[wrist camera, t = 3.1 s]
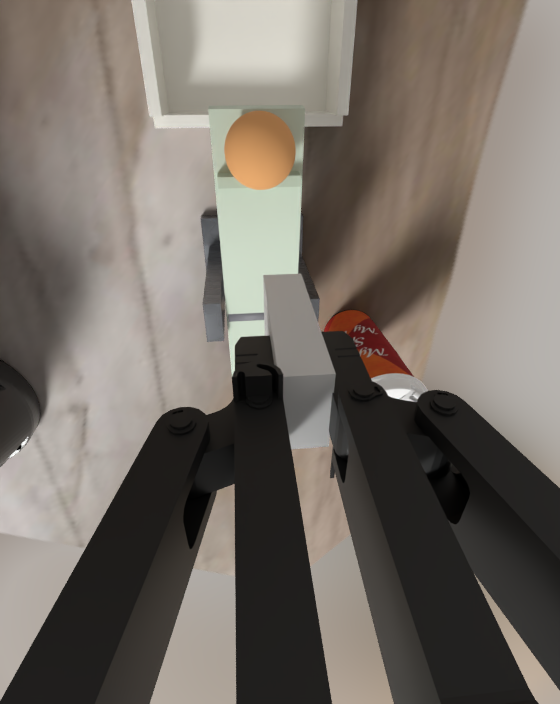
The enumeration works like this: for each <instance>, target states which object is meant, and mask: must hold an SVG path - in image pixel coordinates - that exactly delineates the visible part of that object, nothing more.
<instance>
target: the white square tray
mask: <svg viewBox="0 0 560 704" xmlns="http://www.w3.org/2000/svg"><path fill="white" fill-rule="evenodd" d="M131 1H132V7H133V14H134V20H135V27H136V33H137V39H138V46H139V52H140V59H141V65H142V71H143V78H144V84H145V91H146V97H147V104H148V110H149V116H150V117H153V119H154V125H155V128H210V124H209V113H208V107H209V106H228V105H303V106H304V108H305V125H304V127H315V126H342V124H343V115H348V112H349V99H350V87H351V75H352V62H353V50H354V37H355V25H356V13H357V0H131Z"/></svg>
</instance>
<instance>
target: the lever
mask: <svg viewBox="0 0 560 704" xmlns="http://www.w3.org/2000/svg"><path fill="white" fill-rule="evenodd" d="M252 111H266V112H270V113H273V114H275V115H277V116H278V117H279V118H281V119H282V120H283V121H284V122H285V123H286V124H287V126H288V127H289V129H290V130H291V133H292V135H293V137H294V141H295V148H296V155H295V161H294V165H293V167H292V170H291V171H290V173H289V175H288V176H287V178H286V179H285V180H284V181H283V182H281V183H280V184H279V185H277V186H275V187H273V188H270V189H266V190H255V189H251V188H248V187H246V186H244V185H243V184H241V183H240V182H239V181H238V180H237V179H236V178H235V177H234V176H233V175H232V174H231V172H230V170H229V168H228V166H227V163H226V160H225V153H224V146H225V139H226V136H227V133H228V131H229V129H230V127H231V126H232V124H233V123H234V122H235V121H236V120H237V119H238V118H239V117H241V116H242V115H244V114H246V113H248V112H252ZM208 113H209V124H210V135H211V147H212V158H213V169H214V180H215V191H216V203H217V214H218V225H219V236H220V247H221V258H222V270H223V281H224V292H225V303H226V314H227V326H228V337H229V348H230V359H231V370H232V376H233V373H234V371H235V344H236V343H237V342H238V340H239V339H240V337H248V336H265V329H264V287H263V275H276V274H298V262H299V239H300V217H301V194H302V171H303V148H304V125H305V108H304V106H303V105H228V106H209V107H208Z"/></svg>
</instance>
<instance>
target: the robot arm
mask: <svg viewBox="0 0 560 704" xmlns="http://www.w3.org/2000/svg"><path fill="white" fill-rule="evenodd" d="M263 287H264V329H265V336H248V337H240V339H239V340H238V342H237V343H236V344H235V371H234V373H233V376H232V384H233V396H234V398H233V400H232V402H231V403H230V404H229V405H228V406H227V407H225V408H224V409H222V410H220V411H217V412H215V413H212V414H208V415H205V413H203V412H202V411H201V410H199V409H196V408H192V407H180V408H176V409H173V410H170V411H168V412H167V413H165V414H163V415H162V416H161V417H160V418H159V419H158V421H157V422H156V424H155V425H154V427H153V429H152V431H151V432H150V434H149V436H148V438H147V440H146V441H145V443H144V445H143V447H142V449H141V450H140V452H139V454H138V456H137V458H136V459H135V461H134V463H133V465H132V466H131V468H130V470H129V472H128V474H127V475H126V477H125V479H124V481H123V483H122V484H121V486H120V488H119V490H118V491H117V493H116V495H115V497H114V499H113V500H112V502H111V504H110V506H109V508H108V509H107V511H106V513H105V515H104V517H103V518H102V520H101V522H100V524H99V525H98V527H97V529H96V531H95V533H94V534H93V536H92V538H91V540H90V542H89V543H88V545H87V547H86V549H85V551H84V552H83V554H82V556H81V558H80V560H79V562H78V563H77V565H76V567H75V568H74V570H73V572H72V574H71V576H70V577H69V579H68V581H67V583H66V584H65V586H64V588H63V590H62V592H61V593H60V595H59V597H58V599H57V601H56V602H55V604H54V606H53V608H52V610H51V611H50V613H49V615H48V617H47V618H46V620H45V622H44V624H43V626H42V627H41V629H40V631H39V633H38V635H37V636H36V638H35V640H34V642H33V644H32V646H31V647H30V649H29V651H28V653H27V654H26V656H25V658H24V660H23V661H22V663H21V665H20V667H19V669H18V670H17V672H16V674H15V676H14V678H13V680H12V681H11V683H10V685H9V686H8V688H7V690H6V692H5V694H4V696H3V697H2V699H1V701H0V704H150V700H151V697H152V694H153V691H154V688H155V685H156V682H157V678H158V675H159V672H160V669H161V666H162V663H163V660H164V657H165V653H166V650H167V647H168V644H169V641H170V638H171V635H172V632H173V628H174V625H175V622H176V619H177V616H178V613H179V610H180V606H181V603H182V600H183V597H184V594H185V590H186V588H187V585H188V582H189V578H190V575H191V572H192V569H193V566H194V563H195V560H196V556H197V553H198V550H199V547H200V544H201V541H202V538H203V535H204V531H205V528H206V525H207V522H208V519H209V516H210V513H211V510H212V506H213V503H214V500H215V497H216V493H217V490H219V489H222V488H224V487H227V486H230V485H232V484H235V585H236V694H237V695H236V699H237V701H236V704H332V701H331V694H330V688H329V682H328V676H327V670H326V664H325V657H324V651H323V644H322V639H321V632H320V626H319V619H318V613H317V608H316V601H315V594H314V588H313V583H312V576H311V570H310V563H309V557H308V551H307V545H306V538H305V532H304V526H303V520H302V513H301V507H300V501H299V495H298V488H297V482H296V476H295V470H294V463H293V457H292V451H291V449H301V448H314V447H328V446H329V438H330V437H331V440H332V444H333V451H332V460H331V470H330V478H334V474H336V478H337V482H338V486H339V490H340V493H341V497H342V501H343V505H344V509H345V513H346V517H347V521H348V525H349V529H350V533H351V537H352V540H353V545H354V548H355V552H356V556H357V560H358V564H359V568H360V572H361V576H362V580H363V584H364V588H365V592H366V595H367V600H368V603H369V607H370V611H371V615H372V619H373V623H374V627H375V631H376V635H377V639H378V643H379V647H380V651H381V655H382V658H383V662H384V666H385V670H386V674H387V678H388V682H389V686H390V690H391V694H392V698H393V701H394V704H538V702H537V701H536V700H535V698H534V696H533V695H532V693H531V691H530V689H529V688H528V686H527V683H526V681H525V679H524V677H523V675H522V673H521V671H520V669H519V667H518V665H517V663H516V661H515V658H514V656H513V654H512V652H511V650H510V648H509V646H508V644H507V642H506V640H505V638H504V636H503V634H502V632H501V629H500V627H499V625H498V623H497V621H496V619H495V617H494V615H493V613H492V611H491V609H490V606H489V605H488V603H487V601H486V598H485V596H484V594H483V592H482V590H481V588H480V586H479V584H478V582H477V580H476V577H477V578H478V579H479V581H480V582H481V583H482V585H483V586H484V588H485V589H486V590H487V592H488V593H489V594H490V596H491V597H492V599H493V600H494V601H495V603H496V604H497V605H498V607H499V608H500V609H501V611H502V612H503V614H504V615H505V616H506V618H507V619H508V620H509V622H510V623H511V625H512V626H513V627H514V629H515V630H516V631H517V633H518V634H519V635H520V637H521V638H522V639H523V641H524V642H525V644H526V645H527V646H528V648H529V649H530V650H531V652H532V653H533V655H534V656H535V657H536V659H537V660H538V661H539V663H540V664H541V666H542V667H543V668H544V670H545V671H546V672H547V673H548V675H549V676H550V678H551V679H552V681H553V682H554V683H555V685H556V686H557V687H558V689H559V690H560V488H559V487H558V486H557V485H556V484H554V483H553V482H552V481H551V480H550V479H549V478H548V477H547V476H546V475H545V474H543V473H542V472H541V471H540V470H539V469H538V468H537V467H536V466H535V465H534V464H533V463H531V462H530V461H529V460H528V459H527V458H526V457H525V456H524V455H523V454H522V453H520V451H518V450H517V449H516V448H515V447H514V446H513V445H512V444H511V443H510V442H509V441H508V440H506V439H505V438H504V437H503V436H502V435H501V434H500V433H499V432H498V431H496V429H494V428H493V427H492V426H491V425H490V424H489V423H488V422H487V421H486V420H485V419H484V418H483V417H481V416H480V415H479V414H478V413H477V412H476V411H475V410H474V409H473V408H472V407H471V406H469V405H468V404H467V403H466V402H465V401H464V400H462V399H461V398H460V397H458V396H457V395H454V394H452V393H449V392H447V391H440V390H432V391H427V392H424V393H422V394H421V395H420V397H419V398H418V400H417V402H412V401H406V400H400V399H396V398H392V397H390V396H388V394H387V392H386V391H385V390H384V388H383V387H382V386H380V385H379V384H377V383H376V382H373V381H372V380H371V378H370V376H369V373H368V371H367V369H366V367H365V365H364V362H363V360H362V358H361V357H360V354H359V351H358V349H357V347H356V345H355V343H354V341H353V338H351V337H350V336H349V335H348V334H346V333H345V332H344V331H327V332H321V330H320V327H319V324H318V321H317V318H316V315H315V312H314V309H313V307H312V304H311V301H310V298H309V295H308V292H307V289H306V286H305V283H304V281H303V278H302V275H301V274H276V275H263ZM39 419H40V406H39V402H38V399H37V397H36V395H35V393H34V391H33V389H32V388H31V386H30V385H29V384H28V383H27V381H26V380H25V379H24V378H23V377H22V376H21V375H20V374H19V373H17V372H16V371H15V370H14V369H12V368H11V367H10V366H8V365H7V364H5V363H4V362H2V361H0V467H1V466H2V465H3V464H4V463H5V462H6V461H7V460H8V459H9V458H11V457H12V456H14V455H15V454H17V453H18V452H19V451H20V450H21V449H23V448H24V446H25V445H26V444H27V443H28V441H29V440H30V438H31V436H32V434H33V433H34V431H35V429H36V427H37V425H38V423H39ZM474 574H475V575H476V577H475V575H474Z"/></svg>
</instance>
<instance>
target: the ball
mask: <svg viewBox="0 0 560 704" xmlns="http://www.w3.org/2000/svg"><path fill="white" fill-rule="evenodd" d="M224 153H225V160H226V163H227V166H228V168H229V170H230V172H231V174H232V175H233V176H234V177H235V178H236V179H237V180H238V181H239V182H240V183H241V184H243V185H244V186H246V187H248V188H251V189H255V190H266V189H270V188H273V187H275V186H277V185H279V184H280V183H281V182H283V181H284V180H285V179H286V178H287V176H288V175H289V173H290V171H291V170H292V167H293V165H294V161H295V155H296V148H295V141H294V137H293V135H292V133H291V130H290V129H289V127H288V126H287V124H286V123H285V122H284V121H283V120H282V119H281V118H279V117H278V116H277V115H275V114H273V113H270V112H266V111H252V112H248V113H246V114H244V115H242V116H241V117H239V118H238V119H237V120H236V121H235V122H234V123H233V124H232V126H231V127H230V129H229V131H228V133H227V136H226V139H225V146H224Z"/></svg>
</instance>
